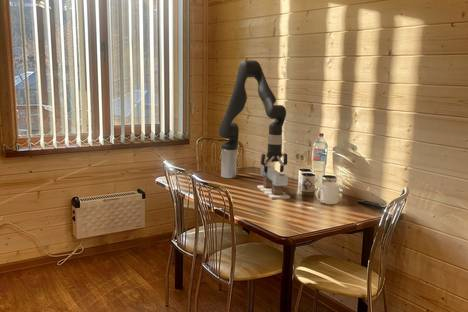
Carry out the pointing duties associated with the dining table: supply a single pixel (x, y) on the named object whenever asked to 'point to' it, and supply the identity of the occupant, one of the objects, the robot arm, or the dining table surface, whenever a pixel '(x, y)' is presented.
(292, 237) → the dining table surface
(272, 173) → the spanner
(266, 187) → the peg rack
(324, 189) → the mug
